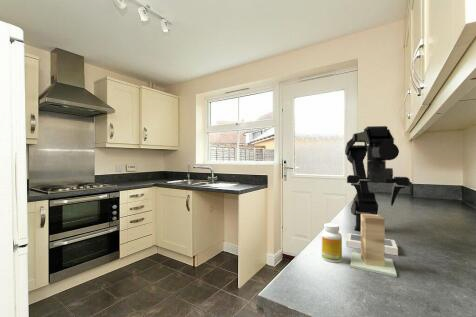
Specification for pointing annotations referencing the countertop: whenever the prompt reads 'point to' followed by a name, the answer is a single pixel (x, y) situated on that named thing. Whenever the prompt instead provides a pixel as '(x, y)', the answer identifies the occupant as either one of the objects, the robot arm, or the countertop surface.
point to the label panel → (355, 242)
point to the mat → (359, 264)
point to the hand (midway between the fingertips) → (376, 204)
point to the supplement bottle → (331, 243)
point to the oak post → (373, 239)
